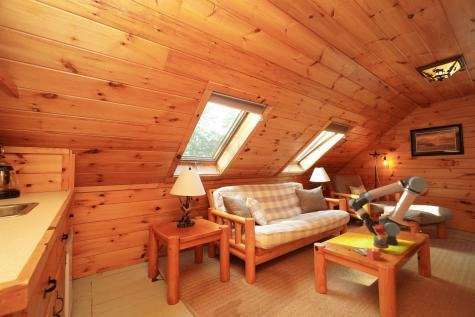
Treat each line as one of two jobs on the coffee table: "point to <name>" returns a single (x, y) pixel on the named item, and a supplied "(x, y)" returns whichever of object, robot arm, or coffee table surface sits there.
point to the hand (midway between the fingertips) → (383, 238)
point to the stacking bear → (383, 240)
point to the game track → (362, 251)
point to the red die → (373, 254)
